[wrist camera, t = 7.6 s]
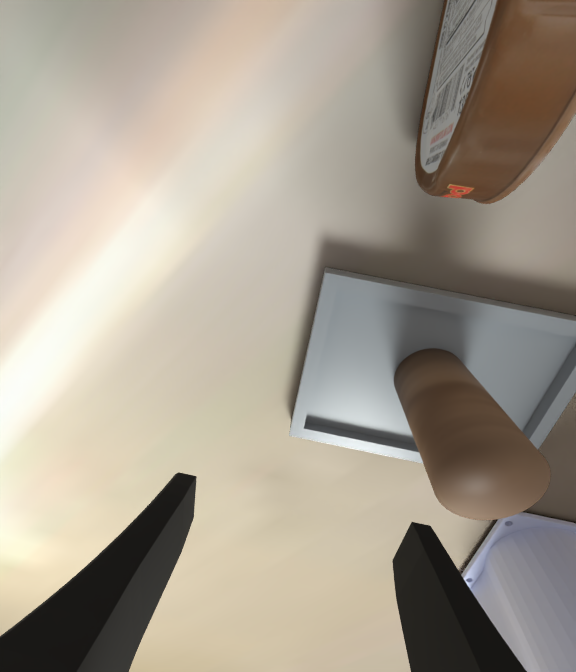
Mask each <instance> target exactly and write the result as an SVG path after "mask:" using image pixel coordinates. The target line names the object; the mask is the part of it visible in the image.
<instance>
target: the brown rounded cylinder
mask: <svg viewBox="0 0 576 672" xmlns="http://www.w3.org/2000/svg"><path fill="white" fill-rule="evenodd" d="M394 386H395V390H396V392H397V395H398V398H399V400H400V403H401V406H402V408H403V411H404V413H405V416H406V419H407V421H408V424H409V427H410V429H411V432H412V435H413V437H414V440H415V443H416V445H417V448H418V451H419V453H420V456H421V458H422V461H423V464H424V466H425V469H426V472H427V474H428V477H429V480H430V482H431V485H432V488H433V490H434V493H435V495H436V497H437V499H438V501H439V502H440V503H441V504H442V505H443V506H444V507H445V508H446V509H448V510H449V511H451V512H452V513H454V514H457V515H459V516H462V517H465V518H469V519H475V520H495V519H502V518H506V517H510V516H513V515H516V514H518V513H521V512H523V511H525V510H526V509H528V508H530V507H531V506H533V505H534V504H535V503H536V502H538V501H539V500H540V499H541V497H542V496H543V495H544V494H545V492H546V490H547V488H548V486H549V483H550V478H551V471H550V467H549V465H548V462H547V461H546V459H545V458H544V456H543V455H542V454H541V453H540V452H539V451H538V449H537V448H536V447H535V446H534V445H533V444H532V442H531V441H530V440H529V439H528V438H527V437H526V436H525V434H524V433H523V432H522V431H521V430H520V429H519V427H518V426H517V425H516V424H515V423H514V422H513V421H512V419H511V418H510V417H509V416H508V415H507V414H506V412H505V411H504V410H503V409H502V408H501V407H500V406H499V404H498V403H497V402H496V401H495V400H494V399H493V397H492V396H491V395H490V394H489V393H488V392H487V390H486V389H485V388H484V387H483V386H482V385H481V384H480V382H479V381H478V380H477V379H476V378H475V377H474V375H473V374H472V373H471V372H470V371H469V370H468V369H467V367H466V366H465V365H464V364H463V363H462V362H461V360H460V359H459V358H458V357H457V356H455V355H454V354H453V353H451V352H449V351H446V350H443V349H437V348H429V349H423V350H419V351H417V352H414V353H412V354H411V355H409V356H408V357H406V358H405V359H404V360H403V361H402V362H401V363H400V364H399V366H398V368H397V369H396V372H395V375H394Z"/></svg>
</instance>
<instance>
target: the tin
mask: <svg viewBox="0 0 576 672" xmlns="http://www.w3.org/2000/svg"><path fill="white" fill-rule="evenodd" d="M575 114H576V0H445V1H444V6H443V10H442V15H441V20H440V24H439V29H438V34H437V39H436V43H435V48H434V53H433V58H432V62H431V67H430V72H429V77H428V82H427V87H426V92H425V96H424V101H423V107H422V113H421V118H420V124H419V131H418V138H417V145H416V156H415V172H416V179H417V182H418V184H419V186H420V187H421V188H422V189H423V190H424V191H425V192H426V193H428V194H430V195H433V196H440V197H451V198H466V199H473V200H475V201H477V202H479V203H482V204H490V203H494V202H496V201H498V200H501V199H502V198H504V197H506V196H507V195H509V194H510V193H511V192H512V191H514V190H515V189H516V188H517V187H518V186H519V185H520V184H521V183H523V182H524V181H525V180H526V179H527V178H528V177H529V176H530V175H531V173H532V172H533V171H534V170H535V169H536V168H537V167H538V166H539V165H540V163H541V162H542V161H543V160H544V159H545V157H546V156H547V155H548V153H549V152H550V151H551V149H552V148H553V146H554V145H555V144H556V143H557V141H558V140H559V138H560V137H561V135H562V134H563V132H564V131H565V129H566V128H567V126H568V125H569V123H570V121H571V120H572V118H573V117H574V115H575Z"/></svg>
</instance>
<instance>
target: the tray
mask: <svg viewBox="0 0 576 672" xmlns="http://www.w3.org/2000/svg"><path fill="white" fill-rule="evenodd" d="M429 348H437V349H443V350H446V351H449V352H451V353H453V354H454V355H455V356H457V357H458V358H459V359H460V360H461V362H462V363H463V364H464V365H465V366H466V367H467V369H468V370H469V371H470V372H471V373H472V374H473V375H474V377H475V378H476V379H477V380H478V381H479V382H480V384H481V385H482V386H483V387H484V388H485V389H486V390H487V392H488V393H489V394H490V395H491V396H492V397H493V399H494V400H495V401H496V402H497V403H498V404H499V406H500V407H501V408H502V409H503V410H504V411H505V412H506V414H507V415H508V416H509V417H510V418H511V419H512V421H513V422H514V423H515V424H516V425H517V426H518V427H519V429H520V430H521V431H522V432H523V433H524V434H525V436H526V437H527V438H528V439H529V440H530V441H531V442H532V444H533V445H534V446H535V447H536V448H537V449H539V447H540V446H541V444H542V443H543V441H544V440H545V438H546V437H547V435H548V434H549V432H550V431H551V429H552V428H553V426H554V425H555V423H556V422H557V420H558V418H559V417H560V415H561V414H562V412H563V411H564V409H565V408H566V406H567V405H568V403H569V402H570V400H571V399H572V397H573V396H574V394H575V393H576V316H575V315H570V314H565V313H560V312H555V311H549V310H544V309H539V308H534V307H529V306H524V305H519V304H513V303H508V302H503V301H498V300H493V299H488V298H482V297H477V296H472V295H467V294H462V293H457V292H451V291H446V290H441V289H436V288H431V287H426V286H420V285H415V284H410V283H405V282H400V281H395V280H389V279H384V278H379V277H374V276H369V275H364V274H359V273H353V272H348V271H343V270H338V269H333V268H328V267H325V270H324V274H323V279H322V283H321V288H320V292H319V297H318V301H317V306H316V310H315V315H314V320H313V324H312V329H311V333H310V338H309V342H308V347H307V351H306V356H305V360H304V365H303V369H302V374H301V379H300V383H299V388H298V392H297V397H296V401H295V406H294V410H293V415H292V419H291V426H290V433H289V436H293V437H298V438H303V439H308V440H312V441H317V442H322V443H327V444H332V445H337V446H341V447H346V448H351V449H356V450H361V451H365V452H370V453H375V454H380V455H385V456H390V457H394V458H399V459H404V460H409V461H414V462H419V463H423V461H422V458H421V456H420V453H419V451H418V448H417V445H416V443H415V440H414V437H413V435H412V432H411V429H410V427H409V424H408V421H407V419H406V416H405V413H404V411H403V408H402V406H401V403H400V400H399V398H398V395H397V392H396V390H395V386H394V375H395V372H396V369H397V368H398V366H399V364H400V363H401V362H402V361H403V360H404V359H405V358H406V357H408V356H409V355H411V354H412V353H414V352H417V351H419V350H423V349H429Z"/></svg>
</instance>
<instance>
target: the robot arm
mask: <svg viewBox="0 0 576 672" xmlns="http://www.w3.org/2000/svg"><path fill="white" fill-rule="evenodd" d="M195 490H196V476H192V475H188V474H183V473H177V474H175V475H174V477H173V478H172V479H171V480H170V481H169V483H168V484H167V485H166V486H165V487H164V488H163V490H162V491H161V492H160V493H159V494H158V495H157V496H156V497H155V499H154V500H153V501H152V502H151V503H150V504H149V505H148V506H147V507H146V508H145V509H144V510H143V511H142V512H141V514H140V515H139V516H138V517H137V518H136V519H135V520H134V521H133V522H132V523H131V524H130V525H129V526H128V527H127V528H126V529H125V530H124V531H123V532H122V533H121V534H120V535H119V536H118V537H117V538H116V539H115V540H114V541H113V542H112V543H110V544H109V545H108V546H107V547H106V548H105V549H104V550H103V551H102V552H101V553H100V554H99V555H98V556H97V557H96V558H95V559H93V560H92V561H91V562H90V563H89V564H88V565H87V566H86V567H85V568H84V569H82V570H81V571H80V572H79V573H78V574H77V575H76V576H74V577H73V578H72V579H71V580H70V581H69V582H67V583H66V584H65V585H64V586H63V587H62V588H60V589H59V590H58V591H57V592H56V593H54V594H53V595H52V596H51V597H50V598H48V599H47V600H46V601H45V602H43V603H42V604H41V605H40V606H38V607H37V608H36V609H35V610H33V611H32V612H31V613H30V614H28V615H27V616H26V617H25V618H23V619H22V620H21V621H20V622H18V623H17V624H16V625H15V626H13V627H12V628H11V629H9V630H8V631H7V632H5V633H4V634H3V635H1V636H0V672H129V669H130V666H131V664H132V661H133V659H134V656H135V654H136V651H137V649H138V647H139V644H140V642H141V639H142V637H143V635H144V633H145V630H146V628H147V626H148V624H149V622H150V620H151V617H152V615H153V613H154V611H155V609H156V607H157V604H158V602H159V600H160V598H161V596H162V593H163V591H164V589H165V587H166V585H167V583H168V580H169V578H170V576H171V574H172V572H173V569H174V567H175V565H176V563H177V561H178V558H179V556H180V554H181V552H182V549H183V546H184V543H185V541H186V538H187V535H188V532H189V529H190V526H191V523H192V521H193V518H194V504H195ZM393 571H394V582H395V590H396V599H397V604H398V610H399V615H400V620H401V625H402V630H403V634H404V639H405V644H406V649H407V654H408V659H409V664H410V668H411V672H576V523H572V522H567V521H563V520H558V519H553V518H548V517H543V516H539V515H534V514H529V513H524V512H521V513H518V514H516V515H513V516H510V517H506V518H502V519H498V521H497V522H496V524H495V525H494V527H493V528H492V530H491V531H490V532H489V534H488V535H487V537H486V538H485V540H484V541H483V543H482V544H481V546H480V547H479V549H478V550H477V552H476V553H475V555H474V556H473V558H472V559H471V561H470V562H469V564H468V565H467V567H466V568H465V570H464V571H463V573H462V574H460V572H459V571H458V569H457V568H456V566H455V564H454V563H453V561H452V560H451V558H450V556H449V555H448V553H447V552H446V550H445V548H444V547H443V545H442V544H441V542H440V540H439V539H438V537H437V535H436V534H435V532H434V531H433V529H432V528H431V526H428V525H424V524H419V523H414V522H412V523H411V525H410V527H409V529H408V531H407V533H406V535H405V537H404V539H403V541H402V543H401V545H400V547H399V549H398V551H397V553H396V555H395V557H394V559H393Z"/></svg>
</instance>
